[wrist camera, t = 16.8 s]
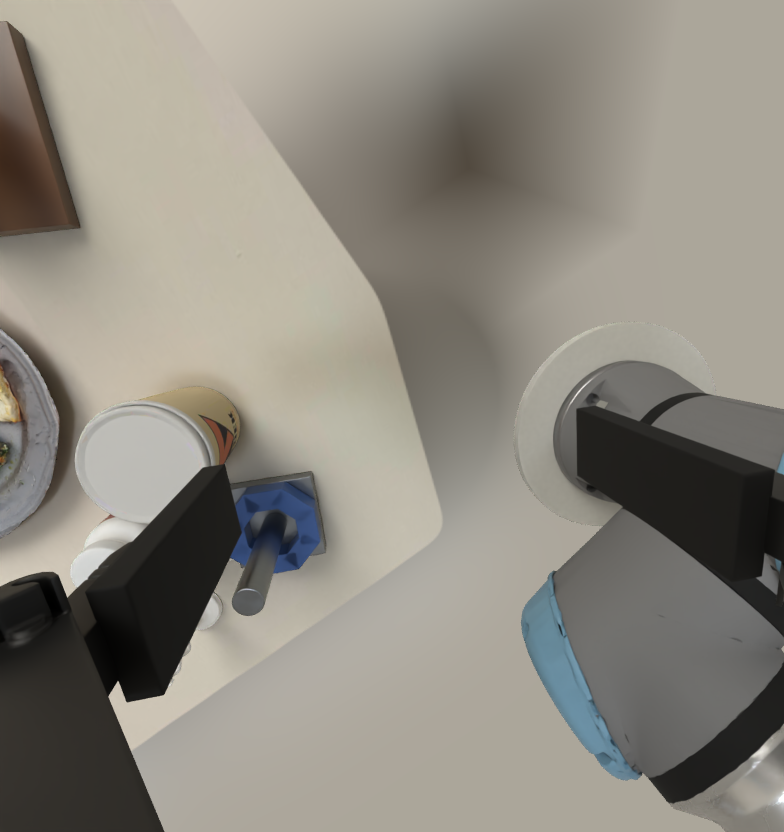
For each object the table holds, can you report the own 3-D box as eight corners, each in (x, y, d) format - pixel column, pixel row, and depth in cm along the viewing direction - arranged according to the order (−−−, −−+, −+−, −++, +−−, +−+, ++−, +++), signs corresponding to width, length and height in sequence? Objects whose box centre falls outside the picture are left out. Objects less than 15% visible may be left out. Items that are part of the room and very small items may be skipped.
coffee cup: (237, 477, 42) (196, 539, 30) (142, 455, 40) (59, 511, 28) (259, 393, 40) (223, 424, 28) (160, 365, 38) (79, 386, 27)
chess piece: (205, 633, 46) (167, 718, 36) (167, 611, 44) (117, 693, 35) (231, 602, 45) (200, 681, 35) (193, 580, 44) (150, 654, 34)
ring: (310, 476, 41) (309, 484, 39) (325, 553, 43) (324, 564, 41) (221, 491, 40) (214, 499, 38) (241, 568, 43) (236, 580, 41)
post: (311, 471, 42) (296, 539, 29) (326, 545, 45) (318, 640, 32) (225, 484, 42) (170, 561, 29) (244, 560, 44) (201, 662, 31)
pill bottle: (124, 486, 41) (45, 547, 30) (186, 475, 41) (130, 531, 30) (143, 540, 42) (74, 616, 31) (203, 529, 43) (155, 600, 32)
